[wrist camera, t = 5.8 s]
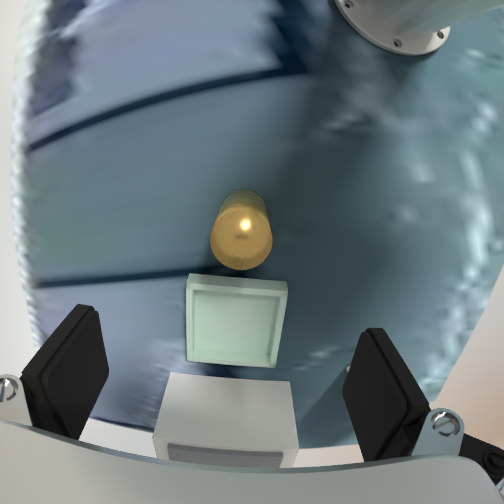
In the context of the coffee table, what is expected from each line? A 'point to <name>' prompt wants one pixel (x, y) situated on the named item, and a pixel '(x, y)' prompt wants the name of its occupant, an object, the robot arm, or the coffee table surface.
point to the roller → (241, 231)
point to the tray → (234, 320)
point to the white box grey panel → (226, 422)
